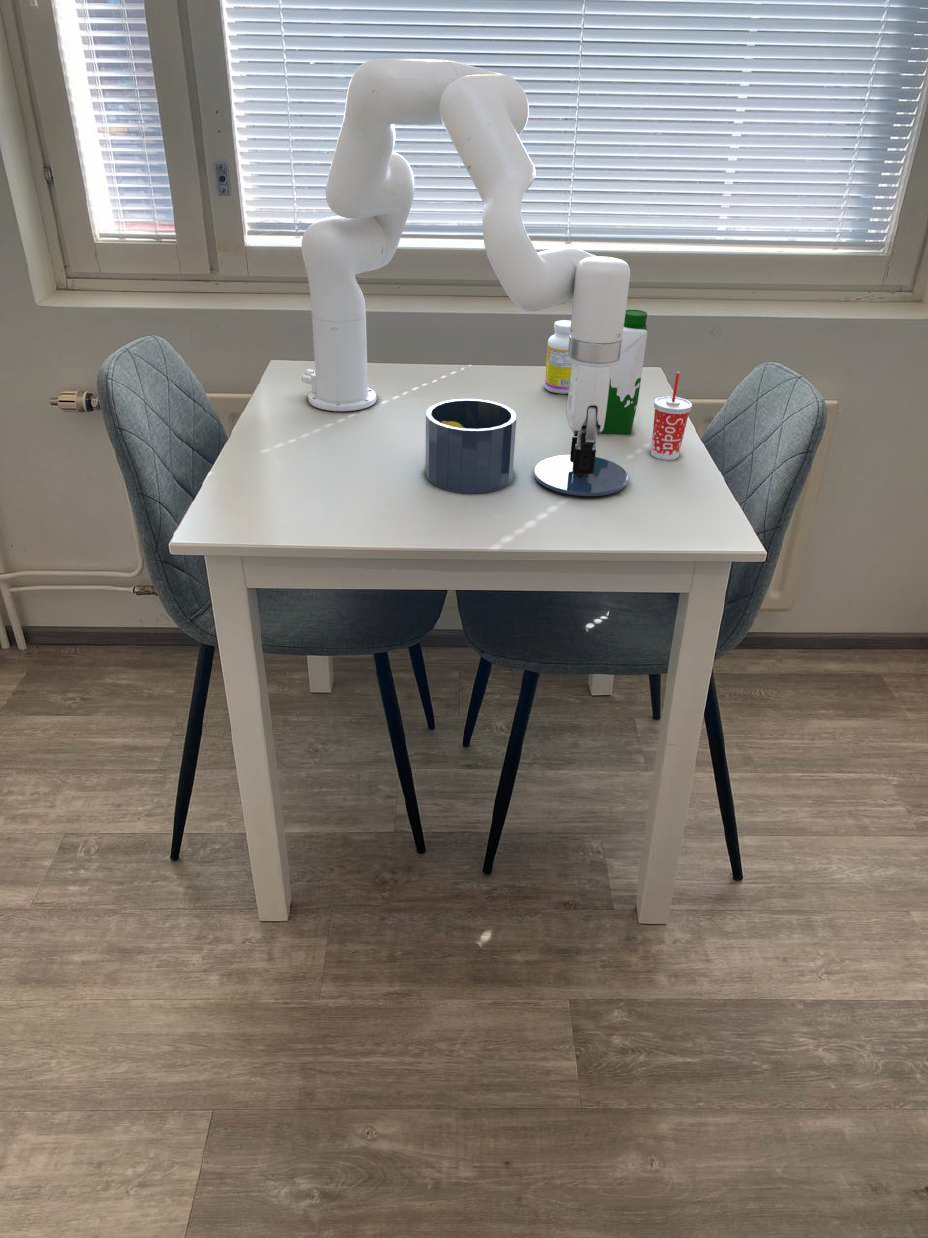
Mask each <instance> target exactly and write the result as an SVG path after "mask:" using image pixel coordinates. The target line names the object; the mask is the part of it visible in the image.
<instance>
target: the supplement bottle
mask: <svg viewBox="0 0 928 1238" xmlns="http://www.w3.org/2000/svg"><path fill="white" fill-rule="evenodd" d="M570 327H571V320H567V319H561V320H556V321H554V324H553V330H554V334H552V335H551V336H549V338H548V340H547V347H546V348H547V349H546V350H547V351H546V362H545V375H544V388H545V389H546V390H547V391H548V392H551V393H554V394H559V395H568V393H569V385H570V377H571V370H572V364H573V362H571V361H569V360H568V348H569V337H570Z"/></svg>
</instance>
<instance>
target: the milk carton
mask: <svg viewBox="0 0 928 1238" xmlns="http://www.w3.org/2000/svg"><path fill="white" fill-rule="evenodd" d="M647 319H648V312H646V311H644V310H639V309H626V313H625V320H624V328H623V336H622V344H621V352H620V360H619V363H618V364H616V365H614V366H611V373H610V383H609V393H608V401H607V409H606V417H605V423H604V428H603V431H601V432H600V433H598V430H597V434H619V435H620V434H621V435H631V434H632V430H633V426H634V422H635V416H636V414H637V413H636V412H637V408H638V403H639V397H640V396H639V395H640V389H641V384H642V383H641V382H642V380H641V379H642V377H643V376H642V374H643V367H644V362H645V361H644V360H645V354H646V347H647V339H648V338H647V337H648V329H647V328H648V327H647Z"/></svg>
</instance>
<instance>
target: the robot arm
mask: <svg viewBox="0 0 928 1238" xmlns="http://www.w3.org/2000/svg"><path fill="white" fill-rule="evenodd" d="M529 104H530V103H529V100H528V97H527V94H526V92H525V90H524V88H523V86H522V85H521V84H520V83H519V82H518V81H517V80H516V79H515V78H513V77H511V76H510V75H508V74H504V73H501V72H495V71H492V70H488V69H485V68H480V67H477V66H472V65H471V64H470V65H469V64H465V63H462V62H458V61H454V60H447V59H421V58H420V59H419V58H376V59H370V60H367V61H365V62H363V63H361V64H360V65H359V66H358V67H357V68H356V70H354V72H353V73H352V76H351V79H350V80H349V84H348V86H347V92H346V96H345V106H344V113H343V119H342V123H341V127H340V130H339V134H338V137H337V141H336V145H335V150H334V153H333V156H332V160H331V164H330V167H329V171H328V175H327V179H326V184H325V199H326V203H327V205H328V207H329V209H330V210H331V211H332V213H334V214H335V215H334V216H327V217H324V218H320V219H318V220H316V221H313V222H312V223H311V224H310V225H308V227H307V228H306V229H305V231H304V233H303V235H302V238H301V254H302V259H303V264H304V267H305V271H306V277H307V281H308V288H309V294H310V295H309V296H310V305H311V306H310V307H311V308H310V309H311V322H312V323H311V325H312V339H313V342H312V343H313V356H314V358H313V359H314V369H311V368H307V369H305V372H304V374H303V375H302V376H301V382H302V383H304V384H309V385H311V390H310V391H309V392H308V394H307V395H308V400H307V401H308V403H309V404H310V405H312V407H315V408H317V409H320V410H324V411H330V412H355V411H360V410H364V409H367V408H369V407H372V406H373V405H374V404H375V403H376V402H377V393H376V391H375V390H374V389H372V388H370V387H369V379H368V378H369V377H368V341H367V338H368V337H367V313H366V311H367V310H366V301H365V295H364V293H363V290H362V289H361V287H360V285H359V283H358V281H357V278H356V275H359V274H362V273H367V272H371V271H375V270H379V269H381V268H384V267H385V266H387V265H388V264H389V263H390V262H391V261H392V260H393V258H394V256H395V255H396V251H397V249H398V246H399V243H400V242H401V238H402V235H403V232H404V229H405V227H406V224H407V220H408V218H409V214H410V211H411V208H412V205H413V202H414V199H415V197H414V196H415V189H416V188H415V176H414V172H413V170H412V167H411V165H410V163H409V162H408V161H407V159H406V158H405V157H404V156H403V155H402V154H400V153H398V152H395V151H394V149H395V144H396V126H402V127H403V126H404V127H413V126H414V127H416V126H418V127H419V126H420V127H421V126H424V127H425V126H438V125H441V126H442V125H443V127H444V129H445V131H446V133H447V135H448V136H449V138H450V141H451V142H452V145H453V146H454V148H455V150H456V152H457V154H458V156H459V158H460V160H461V162H462V163H463V165H464V167H465V169H466V171H467V173H468V175H469V176H470V179H471V181H472V183H473V184H474V187H475V189H476V191H477V193H478V194H479V196H480V199H481V201H482V204H483V205H482V206H483V209H482V210H483V211H482V233H483V234H482V235H483V237H482V238H483V244H484V250H485V253H486V256H487V259H488V261H489V263H490V266H491V268H492V270H493V272H494V274H495V276H496V277H497V279H498V282H499V283H500V285H501V287H502V289H503V290H504V292H505V294H506V295H507V296H508V297H509V299H510V300H511V301H512V303H513V304H515V305H516V307H518V308H520V309H521V310H524V311H527V312H539V311H542V310H546V309H549V308H552V307H556V306H559V305H564V304H569V303H572V307H571V316H570V317H571V318H570V321H571V327H570V337H569V348H568V360H569V361H571V362H573V364H572V370H571V377H570V385H569V393H568V394H567V402H566V408H565V409H566V410H565V413H566V419H567V423H568V427H569V430H570V431H571V432H572V433H573V436H571V444H570V445H571V446H570V454H569V455H570V461H571V462H573V468H572V471H573V473H575V474H592V473H593V471H594V463H595V457H596V455H597V448H596V447H597V439H598V434H601V433H600V432H601V431H603V428H604V423H605V417H606V409H607V401H608V393H609V383H610V373H611V366H614V365H616V364H618V363H619V360H620V352H621V344H622V336H623V328H624V320H625V313H626V310H627V304H628V297H629V289H630V281H631V269H630V265H629V264H628V262H626V261H625V260H623V259H620V258H617V257H612V256H599V255H598V256H597V255H595V254H593V253H590V252H587V251H585V250H582V249H580V248H577V247H574V246H561V247H556V248H552V249H547V250H542V251H537V250H536V247H535V246H534V244H533V242H532V240H531V238H530V236H529V234H528V232H527V230H526V226H525V224H524V221H523V216H522V202H523V198H524V196H525V193H526V192H527V191H528V190H529V189H530V188H531V187H532V185H533V183H534V182H535V178H536V173H537V172H536V167H535V165H534V163H533V161H532V159H531V157H530V156H529V154H528V151H527V149H526V148H525V146H524V144H523V142H522V140H521V138H520V136H519V135H521V133H522V132H524V130H525V129H526V127H527V123H528V120H529V116H530V105H529ZM597 430H598V433H597ZM576 443H577V448H575V446H576Z"/></svg>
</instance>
